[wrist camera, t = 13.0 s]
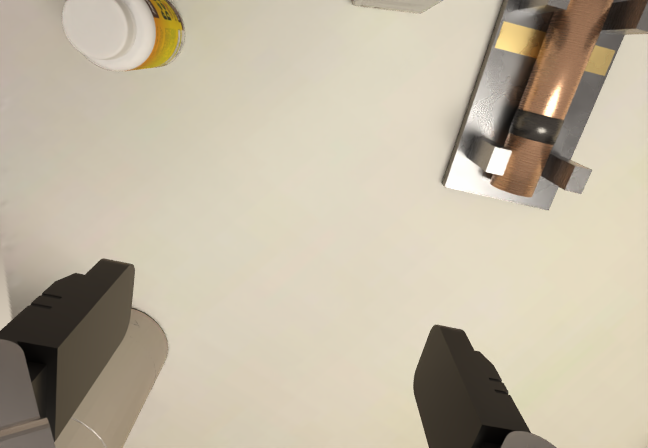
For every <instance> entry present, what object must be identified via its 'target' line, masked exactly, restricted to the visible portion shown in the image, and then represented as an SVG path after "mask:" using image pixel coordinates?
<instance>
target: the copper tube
mask: <svg viewBox="0 0 648 448" xmlns="http://www.w3.org/2000/svg"><path fill="white" fill-rule="evenodd" d="M613 1H614V0H570V2H569V5H568V7H567V10H562V11H556V12H554V14H553V16H552V19H551V22H550V24H549V27H548V30H547V32H546V35H545V37H544V40H543V43H542V45H541V48H540V51H539V53H538V56H537V59H536V61H535V64H534V67H533V69H532V72H531V75H530V77H529V80H528V83H527V85H526V88H525V91H524V93H523V96H522V98H521V101H520V104H519V106H518V108H517V110H516V113H515V115H514V118H513V121H512V123H511V126H510V129H509V131H508V132H509V133H508V136H507V138H506V141H505V144H504V147H506V148H508V149H510V150H511V151H512V153H511V156H510V158H509V161H508V163H507V166H506V169H505V171H504V174H503V176H501V175H497V174H493V175H492V178H491V181H490V184H491V185H492V186H494V187H495V188H498V189H500V190H502V191H505V192H508V193H511V194H514V195H518V196H523V197H532V196H533V193H534V191H535V189H536V186H537V184H538V181H539V179H540V177H541V174H542V172H543V169H544V167H545V165H546V162H547V160H548V157H549V155H550V153H551V150H552V148H553V145H555V142H556V140H557V137H558V135H559V133H560V130H561V128H562V125H563V123H564V121H565V120H564V119H565V117H566V114H567V112H568V109H569V107H570V105H571V102H572V100H573V97H574V95H575V93H576V90H577V88H578V85H579V83H580V81H581V78H582V76H583V73H584V71H585V69H586V66H587V64H588V61H589V59H590V57H591V54H592V52H593V49H594V47H595V45H596V42H597V40H598V37H599V35H600V33H601V30H602V28H603V25H604V23H605V21H606V18H607V16H608V13H609V11H610V9H611V6H612V4H613Z"/></svg>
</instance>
